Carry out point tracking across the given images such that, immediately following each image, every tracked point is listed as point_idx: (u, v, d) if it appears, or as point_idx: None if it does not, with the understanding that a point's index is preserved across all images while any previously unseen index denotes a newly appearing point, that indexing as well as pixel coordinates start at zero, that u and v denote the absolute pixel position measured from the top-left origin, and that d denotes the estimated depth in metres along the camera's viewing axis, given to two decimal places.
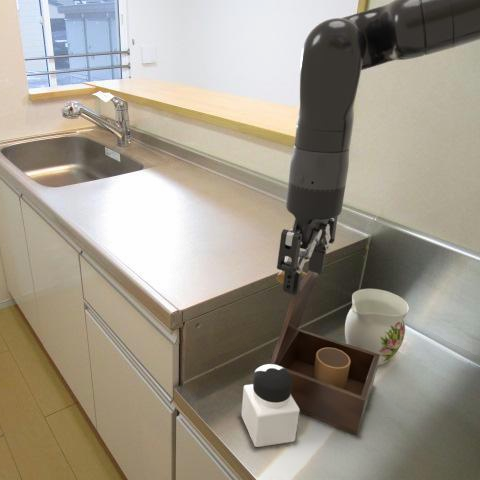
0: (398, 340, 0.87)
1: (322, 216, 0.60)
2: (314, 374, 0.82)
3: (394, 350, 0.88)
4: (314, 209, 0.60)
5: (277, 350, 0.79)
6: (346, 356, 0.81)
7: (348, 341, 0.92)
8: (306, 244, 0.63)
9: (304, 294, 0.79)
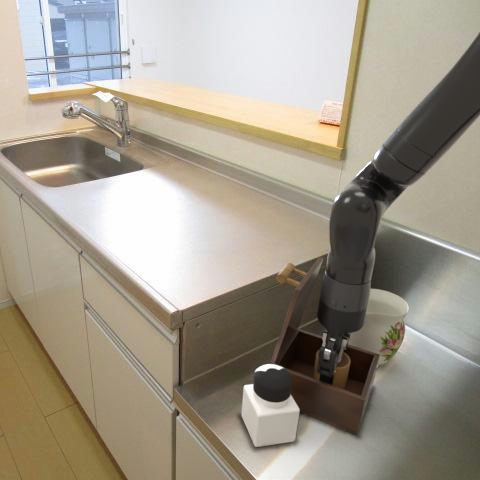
0: (398, 340, 0.87)
1: (351, 331, 0.74)
2: (314, 374, 0.82)
3: (394, 350, 0.88)
4: (345, 326, 0.73)
5: (277, 350, 0.79)
6: (346, 356, 0.81)
7: None
8: (337, 350, 0.76)
9: (304, 294, 0.79)
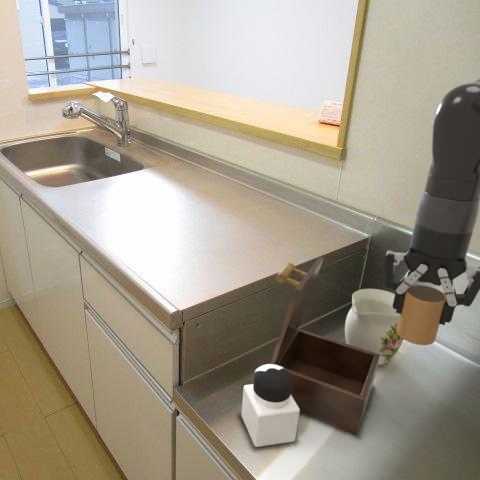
0: (398, 340, 0.87)
1: (416, 248, 0.69)
2: None
3: (394, 350, 0.88)
4: (413, 239, 0.69)
5: (277, 350, 0.79)
6: (435, 301, 0.70)
7: (348, 341, 0.92)
8: (410, 270, 0.72)
9: (304, 294, 0.79)
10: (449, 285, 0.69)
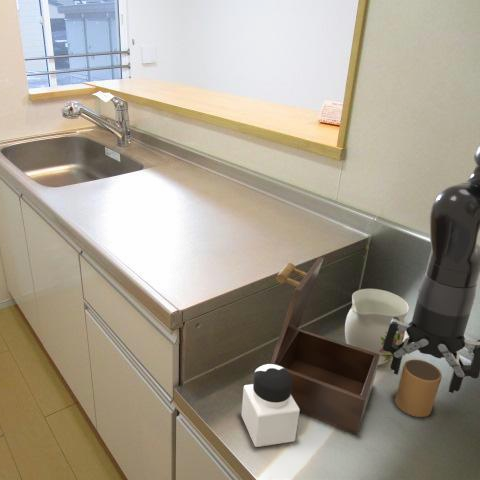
0: (398, 340, 0.87)
1: (417, 325, 0.74)
2: None
3: None
4: (415, 316, 0.75)
5: (277, 350, 0.79)
6: (431, 380, 0.76)
7: (348, 341, 0.92)
8: (412, 342, 0.77)
9: (304, 294, 0.79)
10: (452, 358, 0.73)
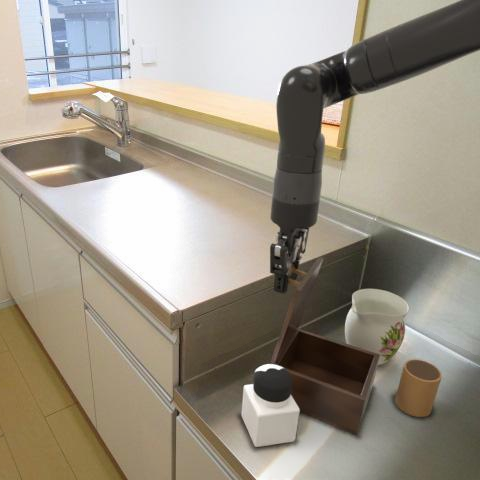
0: (398, 340, 0.87)
1: (303, 226, 0.72)
2: None
3: (394, 350, 0.88)
4: (296, 220, 0.72)
5: (277, 350, 0.79)
6: (431, 380, 0.76)
7: (348, 341, 0.92)
8: (289, 249, 0.75)
9: (304, 294, 0.79)
10: (304, 243, 0.79)
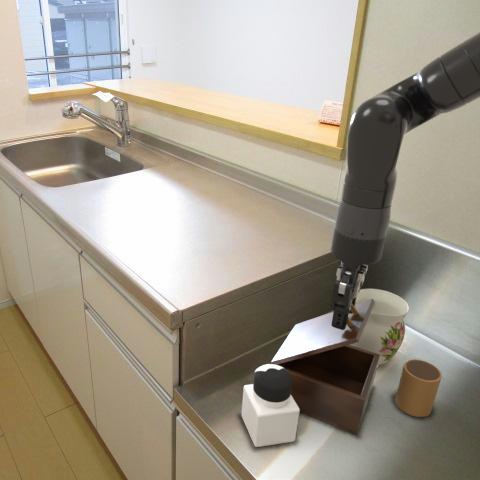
0: (398, 340, 0.87)
1: (369, 262, 0.68)
2: None
3: (394, 350, 0.88)
4: (362, 256, 0.68)
5: (287, 360, 0.78)
6: (431, 380, 0.76)
7: None
8: (352, 285, 0.71)
9: None
10: None
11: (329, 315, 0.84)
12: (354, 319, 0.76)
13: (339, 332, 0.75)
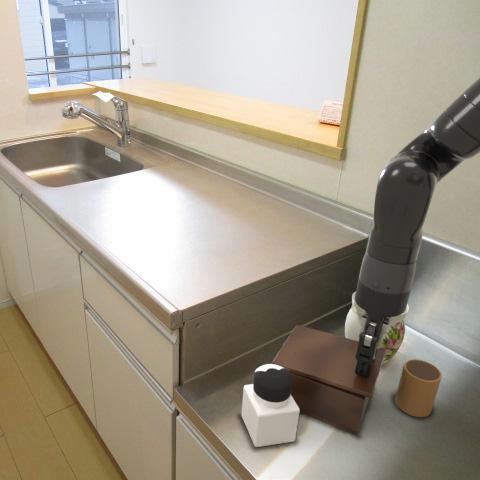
0: (398, 340, 0.87)
1: (394, 314, 0.69)
2: None
3: (394, 350, 0.88)
4: (388, 309, 0.69)
5: (290, 370, 0.78)
6: (431, 380, 0.76)
7: None
8: (376, 336, 0.72)
9: None
10: None
11: (336, 339, 0.85)
12: None
13: (351, 373, 0.76)
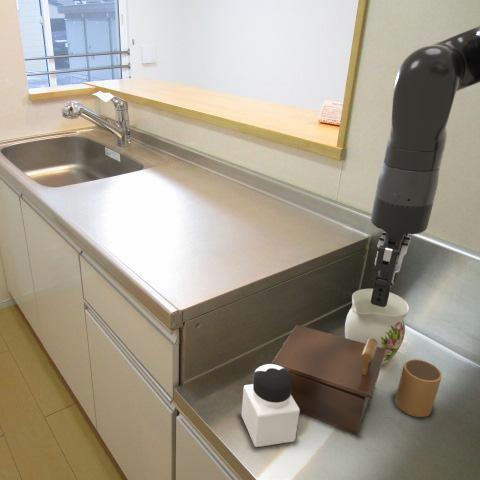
0: (398, 340, 0.87)
1: (415, 231, 0.63)
2: None
3: (394, 350, 0.88)
4: (408, 225, 0.63)
5: (290, 370, 0.79)
6: (431, 380, 0.76)
7: None
8: None
9: None
10: None
11: (336, 339, 0.85)
12: None
13: (351, 373, 0.76)
